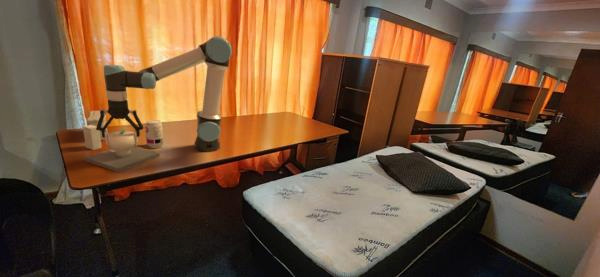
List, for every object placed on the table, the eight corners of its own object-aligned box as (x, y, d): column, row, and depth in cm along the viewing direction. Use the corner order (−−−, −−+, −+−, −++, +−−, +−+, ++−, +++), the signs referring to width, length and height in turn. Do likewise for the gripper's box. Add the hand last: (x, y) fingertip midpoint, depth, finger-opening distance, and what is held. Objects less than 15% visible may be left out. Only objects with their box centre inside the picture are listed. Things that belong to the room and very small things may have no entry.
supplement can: (146, 149, 135) (144, 123, 130) (147, 143, 141) (145, 119, 137) (162, 148, 138) (161, 123, 134) (163, 143, 145) (161, 119, 140)
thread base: (159, 156, 128) (158, 144, 126) (118, 172, 108) (117, 159, 106) (128, 147, 134) (127, 136, 132) (84, 160, 114) (82, 147, 112)
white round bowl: (133, 149, 116) (132, 136, 114) (105, 150, 112) (103, 136, 110) (138, 141, 126) (137, 129, 124) (112, 141, 121) (111, 128, 119)
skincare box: (102, 147, 129) (99, 126, 125) (93, 150, 125) (90, 128, 121) (94, 145, 131) (91, 124, 127) (85, 147, 127) (82, 126, 123)
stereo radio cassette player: (92, 130, 149) (87, 99, 143) (109, 130, 154) (105, 99, 147) (89, 142, 133) (83, 107, 127) (107, 141, 138) (103, 107, 132)
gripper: (147, 98, 120) (150, 139, 127) (87, 96, 109) (94, 141, 116) (146, 101, 114) (149, 144, 121) (82, 100, 103) (89, 147, 110)
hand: (122, 143), depth 118 cm, fingers closed on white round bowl, 11 cm apart
